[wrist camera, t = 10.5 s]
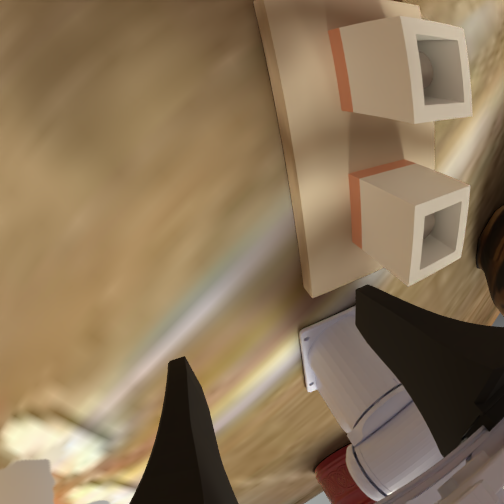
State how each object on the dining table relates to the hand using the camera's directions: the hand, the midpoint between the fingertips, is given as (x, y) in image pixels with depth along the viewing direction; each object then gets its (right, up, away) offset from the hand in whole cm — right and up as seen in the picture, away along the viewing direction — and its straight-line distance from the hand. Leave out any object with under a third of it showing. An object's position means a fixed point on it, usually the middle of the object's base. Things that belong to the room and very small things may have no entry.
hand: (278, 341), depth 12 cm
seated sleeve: (+8, +7, +9) cm, 14 cm away
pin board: (+6, +11, +8) cm, 15 cm away
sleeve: (+6, +15, +4) cm, 16 cm away
